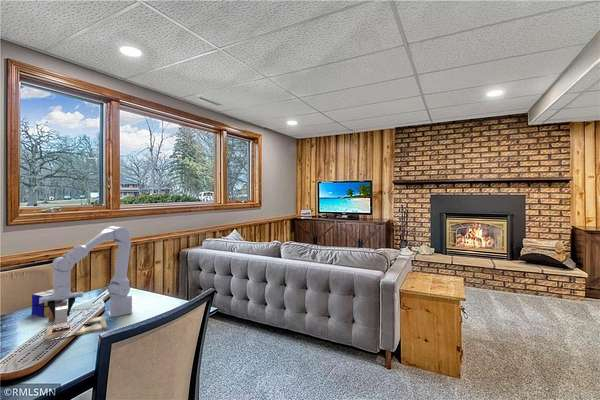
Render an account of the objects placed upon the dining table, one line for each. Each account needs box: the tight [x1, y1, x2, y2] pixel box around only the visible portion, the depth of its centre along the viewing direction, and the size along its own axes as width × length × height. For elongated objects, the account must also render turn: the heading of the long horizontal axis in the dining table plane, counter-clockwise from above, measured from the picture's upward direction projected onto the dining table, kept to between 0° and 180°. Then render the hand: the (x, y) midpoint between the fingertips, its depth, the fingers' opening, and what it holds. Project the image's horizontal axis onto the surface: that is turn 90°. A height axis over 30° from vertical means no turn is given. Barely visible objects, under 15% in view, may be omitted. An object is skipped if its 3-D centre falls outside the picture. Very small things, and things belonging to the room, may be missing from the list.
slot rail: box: [43, 315, 108, 342], centre depth 129 cm, size 21×15×1 cm
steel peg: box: [54, 305, 68, 325], centre depth 125 cm, size 4×4×6 cm
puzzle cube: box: [31, 289, 67, 318], centre depth 147 cm, size 10×10×10 cm
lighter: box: [48, 299, 68, 323], centre depth 139 cm, size 8×3×10 cm, turn 168°
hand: (61, 316), depth 125 cm, fingers closed on steel peg, 4 cm apart
